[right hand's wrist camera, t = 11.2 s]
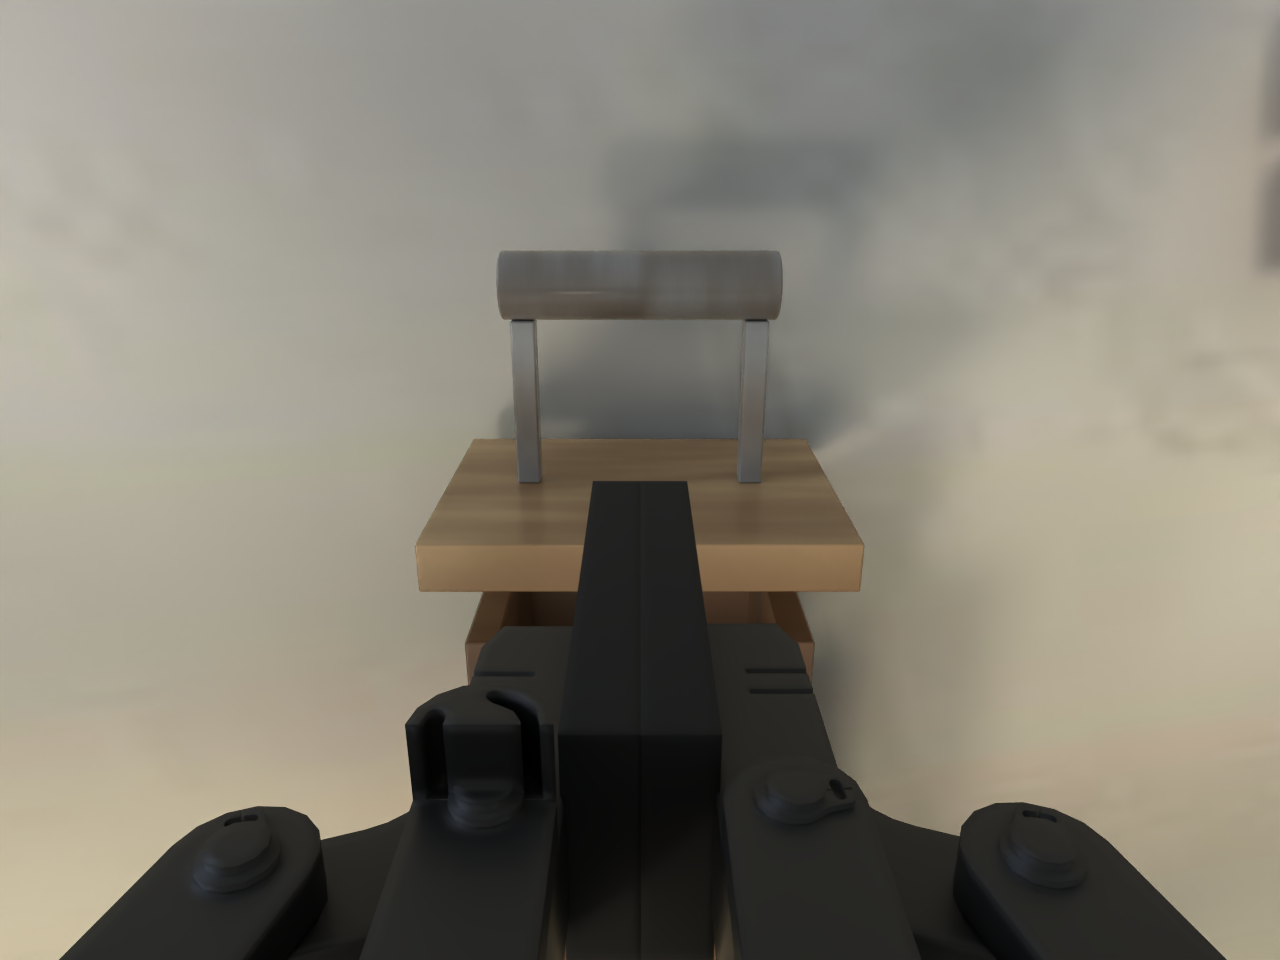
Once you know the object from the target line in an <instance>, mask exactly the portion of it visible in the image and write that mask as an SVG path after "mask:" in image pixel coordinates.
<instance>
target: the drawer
mask: <svg viewBox="0 0 1280 960" xmlns="http://www.w3.org/2000/svg"><path fill="white" fill-rule="evenodd" d="M782 288H783V270H782V259H781V255H780V253H779V252H778V251H501V252H500V253H499V256H498V261H497V299H498V306H499V312H500V315H501V317H502V319H504V320H512V321H511V323H510V331H511V350H512V370H513V390H514V410H515V430H516V439H474V440H473V442H472V443H471V445H470V447H469V449H468V451H467V452H466V454H465V456H464V458H463V460H462V461H461V463H460V465H459V467H458V469H457V470H456V472H455V474H454V476H453V478H452V479H451V481H450V483H449V485H448V487H447V488H446V490H445V492H444V494H443V496H442V497H441V499H440V501H439V503H438V505H437V506H436V508H435V510H434V512H433V514H432V515H431V517H430V519H429V521H428V523H427V524H426V526H425V528H424V530H423V532H422V533H421V535H420V537H419V539H418V540H417V542H416V544H415V551H416V561H417V572H418V582H419V590H420V591H421V592H483V593H482V596H481V599H480V602H479V605H478V608H477V611H476V613H475V616H474V619H473V622H472V625H471V628H470V631H469V634H468V636H467V639H466V642H465V651H466V664H467V677H468V685H470V682H471V679H472V676H474V670H475V666H476V663H477V660H478V657H479V654H480V650H481V647H482V646H483V645H484V644H486V643H487V642H488V641H489V640H490V639H491V638H492V637H493V636H494V635H495V634H496V633H497V632H498V631H499V630H501V629H502V628H503V627H504V626H573V621H574V614H575V606H576V599H577V592H578V585H579V577H580V570H581V563H582V556H583V548H584V541H585V534H586V527H587V520H588V512H589V505H590V498H591V491H592V483H593V481H687V483H688V491H689V498H690V505H691V512H692V520H693V527H694V534H695V541H696V548H697V556H698V563H699V570H700V577H701V585H702V592H703V599H704V606H705V614H706V621H707V623H776V624H777V625H778V626H779V627H781V628H782V629H783V630H784V631H785V632H786V633H787V634H788V635H789V636H790V637H791V638H792V639H793V640H795V641H796V642H797V643H798V644H799V647H800V650H801V653H802V656H803V660H804V663H805V666H806V673H808V675H809V679H810V682H811V685H812V672H813V659H814V646H815V643H814V640H813V637H812V634H811V631H810V628H809V626H808V623H807V620H806V617H805V614H804V611H803V608H802V606H801V603H800V600H799V597H798V594H797V591H860V586H861V576H862V565H863V555H864V543H863V542H862V540H861V538H860V536H859V534H858V533H857V531H856V529H855V527H854V525H853V524H852V522H851V520H850V518H849V516H848V515H847V513H846V511H845V509H844V507H843V506H842V504H841V502H840V500H839V498H838V497H837V495H836V493H835V491H834V489H833V488H832V486H831V484H830V482H829V480H828V479H827V477H826V475H825V473H824V471H823V470H822V468H821V466H820V464H819V462H818V461H817V459H816V457H815V455H814V453H813V452H812V450H811V448H810V446H809V444H808V443H807V441H806V439H763V438H764V418H765V398H766V378H767V357H768V337H769V321H768V320H775V319H777V318H778V316H779V313H780V308H781V301H782ZM536 320H743V328H742V353H741V378H740V404H739V429H738V439H541V420H540V395H539V370H538V346H537V321H536Z"/></svg>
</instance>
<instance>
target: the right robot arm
mask: <svg viewBox="0 0 1280 960" xmlns="http://www.w3.org/2000/svg"><path fill="white" fill-rule="evenodd" d="M405 729H406V738H407V747H408V757H409V766H410V775H411V784H412V794H413V802H412V805H411V808H410V811H409V812H407V813H406V814H404V815H402V816H400V817H398V818H396V819H394V820H392V821H390V822H388V823H385V824H382V825H378V826H375V827H372V828H369V829H366V830H362V831H358V832H353V833H349V834H345V835H341V836H336V837H332V838H328V839H324V840H320V833H319V830H318V828H317V827H316V826H315V825H314V824H313V822H312V821H311V820H310V819H309V818H308V816H307V815H304V814H302V813H299V812H297V811H294V810H291V809H289V808H286V807H264V806H257V807H252V808H248V809H243V810H238V811H234V812H229V813H226V814H224V815H222V816H219V817H217V818H215V819H213V820H211V821H209V822H206V823H204V824H202V825H200V826H198V827H196V828H195V829H194V830H192V831H191V832H190V833H188V834H187V835H186V836H184V837H183V838H182V839H181V840H179V841H178V842H177V843H175V844H174V845H173V846H172V847H171V848H170V849H169V850H168V851H167V852H166V853H165V854H164V855H163V856H162V857H161V858H160V859H159V860H158V861H157V862H156V863H155V864H154V865H153V866H152V867H151V868H150V869H149V870H148V871H147V872H146V873H145V874H144V875H143V876H142V877H141V878H140V879H139V880H138V881H137V882H136V883H135V884H134V885H133V886H132V887H131V888H130V889H129V890H128V891H127V892H126V893H125V894H124V895H123V896H122V897H121V898H120V899H119V900H118V901H117V902H116V903H115V904H114V905H113V906H112V907H111V908H110V909H109V910H108V911H107V912H106V913H105V914H104V915H103V916H102V917H101V918H100V919H99V920H98V921H97V922H96V923H95V924H94V925H93V926H92V927H91V928H90V929H89V930H88V931H87V932H86V933H85V934H84V935H83V936H82V937H81V938H80V939H79V940H78V941H77V942H76V943H75V944H74V945H73V946H72V947H71V948H70V949H69V950H68V951H67V952H66V953H65V954H64V955H63V956H62V957H61V958H60V959H59V960H564V959H565V948H566V960H714V943H715V954H716V960H1226V959H1225V958H1224V957H1223V956H1222V955H1221V954H1220V953H1219V952H1218V951H1217V950H1216V949H1215V948H1214V947H1213V946H1212V945H1211V944H1210V943H1209V942H1208V941H1207V940H1206V939H1205V938H1204V937H1203V936H1202V935H1201V934H1200V933H1199V932H1198V931H1197V930H1196V929H1195V928H1194V927H1193V926H1192V925H1191V924H1190V923H1189V922H1188V921H1187V920H1186V919H1185V918H1184V917H1183V916H1182V915H1181V914H1180V913H1179V912H1178V911H1177V910H1176V909H1175V908H1174V907H1173V906H1172V905H1171V904H1170V903H1169V902H1168V901H1167V900H1166V899H1165V898H1164V897H1163V896H1162V895H1161V894H1160V893H1159V892H1158V891H1157V890H1156V889H1155V888H1154V887H1153V886H1152V885H1151V884H1150V883H1149V882H1148V881H1147V880H1146V879H1145V878H1144V877H1143V876H1142V875H1141V874H1140V873H1139V872H1138V871H1137V870H1136V869H1135V868H1134V867H1133V866H1132V865H1131V864H1130V863H1129V862H1128V861H1127V860H1126V859H1125V858H1124V857H1123V856H1122V855H1121V854H1120V853H1119V852H1118V851H1117V850H1116V849H1115V848H1114V847H1113V846H1112V845H1111V844H1110V843H1109V842H1108V841H1107V840H1106V839H1104V838H1103V837H1102V836H1100V835H1099V834H1098V833H1096V832H1095V831H1094V830H1093V829H1091V828H1090V827H1089V826H1087V825H1086V824H1085V823H1083V822H1081V821H1079V820H1077V819H1074V818H1072V817H1070V816H1068V815H1066V814H1063V813H1061V812H1059V811H1057V810H1055V809H1051V808H1047V807H1042V806H1037V805H1033V804H1028V803H1024V802H1020V803H995V804H992V805H989V806H987V807H984V808H982V809H979V810H976V811H974V812H973V813H972V814H971V816H970V817H969V818H968V819H967V820H966V822H965V823H964V824H963V825H962V827H961V833H960V836H956V835H951V834H947V833H943V832H938V831H934V830H930V829H926V828H921V827H917V826H914V825H910V824H907V823H904V822H901V821H898V820H894V819H892V818H890V817H888V816H886V815H884V814H882V813H880V812H878V811H876V810H874V809H872V808H871V807H870V806H869V804H868V801H867V799H866V797H865V795H864V794H863V792H862V791H861V789H860V787H859V786H858V784H857V783H856V781H855V780H853V779H852V778H851V777H849V776H848V775H847V774H845V773H844V772H843V771H841V770H840V769H839V768H837V764H836V761H835V758H834V755H833V752H832V749H831V745H830V742H829V739H828V736H827V733H826V729H825V726H824V723H823V720H822V717H821V714H820V710H819V707H818V704H817V701H816V698H815V695H814V694H813V688H812V685H811V682H810V679H809V675H808V673H806V666H805V663H804V660H803V656H802V653H801V650H800V647H799V644H798V643H797V642H796V641H795V640H793V639H792V638H791V637H790V636H789V635H788V634H787V633H786V632H785V631H784V630H783V629H782V628H781V627H779V626H778V625H777V624H776V623H707V621H706V614H705V606H704V599H703V592H702V585H701V577H700V570H699V563H698V556H697V548H696V541H695V534H694V527H693V520H692V512H691V505H690V498H689V491H688V483H687V481H593V483H592V491H591V498H590V505H589V512H588V520H587V527H586V534H585V541H584V548H583V556H582V563H581V570H580V577H579V585H578V592H577V599H576V606H575V614H574V621H573V626H504V627H503V628H502V629H501V630H499V631H498V632H497V633H496V634H495V635H494V636H493V637H492V638H491V639H490V640H489V641H488V642H487V643H486V644H484V645H483V646H482V647H481V650H480V654H479V657H478V660H477V663H476V666H475V670H474V676H472V679H471V682H470V685H468V686H462V687H459V688H456V689H453V690H450V691H447V692H444V693H441V694H438V695H436V696H435V697H433V698H432V699H430V700H429V701H427V702H426V703H424V704H423V705H421V706H420V707H418V708H417V709H416V710H415V712H414V713H413V714H412V716H411V717H410V719H409V720H408V721H407V723H406V724H405Z"/></svg>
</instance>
